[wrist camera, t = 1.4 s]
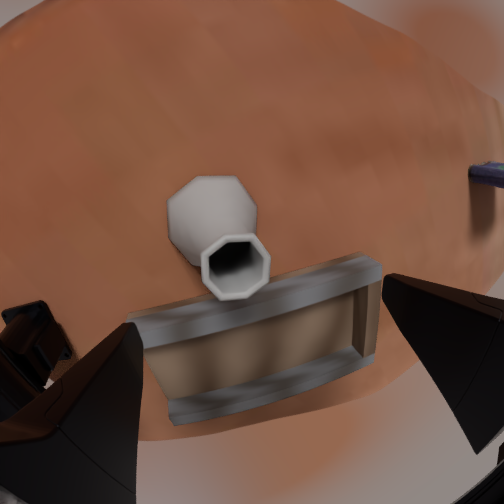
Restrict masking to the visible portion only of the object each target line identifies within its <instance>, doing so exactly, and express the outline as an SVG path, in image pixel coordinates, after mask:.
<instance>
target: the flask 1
mask: <svg viewBox="0 0 504 504" xmlns="http://www.w3.org/2000/svg"><path fill="white" fill-rule="evenodd" d="M167 221H168V238H169V239H170V240H171V241H172V243H173V244H174V245H175V246H176V247H177V248H178V250H179V251H180V252H181V253H182V254H183V255H184V256H185V258H186V259H187V260H188V261H189V262H190V263H191V264H192V265H194V266H200V267H201V276H202V282H203V283H204V284H205V286H206V287H207V288H208V289H209V290H210V291H211V292H212V293H213V294H214V295H215V296H216V297H217V299H218V300H219V301H230V300H242V299H248V298H249V297H251V296H252V295H253V294H255V293H256V292H257V291H259V290H260V289H261V288H263V287H264V286H265V285H267V284H268V283H269V280H270V262H271V256H270V254H269V253H268V252H267V250H266V249H265V248H264V246H263V245H262V244H261V242H260V241H259V240H258V238H257V237H256V223H257V205H256V203H255V202H254V200H253V199H252V198H251V196H250V195H249V193H248V192H247V191H246V189H245V188H244V186H243V185H242V184H241V182H240V181H239V179H238V178H237V177H236V176H197V177H195V178H194V179H193V180H192V181H190V182H189V183H188V184H186V185H185V186H184V187H183V188H181V189H180V190H179V191H178V192H176V193H175V194H174V195H173V196H171V197H170V198H169V199H168V200H167Z"/></svg>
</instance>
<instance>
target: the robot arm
mask: <svg viewBox="0 0 504 504" xmlns="http://www.w3.org/2000/svg"><path fill="white" fill-rule="evenodd" d="M382 300H383V302H384V304H385V305H386V307H387V309H388V310H389V312H390V314H391V316H392V317H393V319H394V321H395V323H396V325H397V326H398V328H399V330H400V331H401V333H402V334H403V336H404V337H405V338H406V340H407V341H408V343H409V344H410V346H411V347H412V349H413V350H414V352H415V353H416V355H417V356H418V358H419V359H420V361H421V362H422V364H423V365H424V367H425V368H426V370H427V371H428V373H429V374H430V376H431V377H432V379H433V381H434V382H435V384H436V385H437V387H438V388H439V390H440V392H441V393H442V395H443V397H444V398H445V400H446V402H447V403H448V405H449V407H450V408H451V410H452V412H453V413H454V416H455V417H456V419H457V421H458V422H459V424H460V426H461V428H462V430H463V431H464V433H465V435H466V437H467V439H468V440H469V443H470V445H471V446H472V448H473V450H474V452H475V453H476V454H479V453H480V452H481V451H482V450H483V449H484V448H486V447H487V446H488V445H489V444H490V443H491V442H492V441H493V440H494V439H496V438H497V437H498V436H499V435H500V434H501V433H502V432H503V431H504V300H502V299H498V298H493V297H488V296H485V295H480V294H476V293H473V292H468V291H465V290H461V289H457V288H453V287H449V286H445V285H441V284H437V283H433V282H429V281H425V280H421V279H417V278H412V277H408V276H404V275H400V274H396V273H392V274H388V275H386V276H385V277H384V279H383V287H382ZM40 305H42V307H41V306H40ZM1 315H2V318H3V320H4V321H5V323H6V325H7V326H6V327H5V328H4V329H3V331H2V332H1V333H0V504H136V466H137V465H136V464H137V444H138V431H139V418H140V408H141V398H142V389H143V350H144V346H143V341H142V338H141V336H140V333H139V331H138V328H137V326H136V324H135V323H134V322H127V323H123V324H121V325H120V326H119V327H118V328H117V329H115V330H114V331H113V332H112V333H111V334H109V335H108V336H107V337H106V338H105V339H104V340H102V341H101V342H100V343H99V344H98V345H97V346H95V347H94V348H93V349H92V350H91V351H90V352H88V353H87V354H86V355H85V356H84V357H83V358H82V359H80V360H79V361H78V362H77V363H76V364H75V365H74V366H72V367H71V368H70V369H69V370H68V371H67V372H66V373H65V374H63V375H62V376H61V378H59V379H58V380H57V381H55V382H54V383H53V384H52V385H51V386H50V387H49V388H47V389H45V388H44V387H43V386H45V385H46V383H47V380H48V378H49V376H50V374H51V371H53V370H54V368H55V366H56V364H57V362H58V360H66V359H70V358H71V356H72V352H71V351H70V349H69V347H68V345H67V344H66V342H65V340H64V338H63V336H62V334H61V333H60V331H59V329H58V327H57V325H56V323H55V321H54V320H53V318H52V316H51V314H50V311H49V309H48V307H47V305H46V303H45V302H44V301H42V300H39V301H35V302H32V303H28V304H24V305H20V306H16V307H13V308H9V309H5V310H3V311H2V313H1ZM66 353H67V354H66ZM452 504H504V442H503V443H502V445H501V446H500V447H499V454H498V461H497V466H496V467H495V468H494V469H493V470H492V471H491V472H490V473H489V474H488V475H486V476H485V477H484V478H483V479H482V480H481V481H480V482H478V483H477V484H476V485H475V486H474V487H472V488H471V489H470V490H469V491H467V492H466V493H465V494H464V495H462V496H461V497H460V498H458V499H457V500H456V501H454V502H453V503H452Z"/></svg>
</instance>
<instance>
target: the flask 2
mask: <svg viewBox="0 0 504 504" xmlns="http://www.w3.org/2000/svg"><path fill="white" fill-rule="evenodd" d="M468 177H469V180H470V181H471V182H473V183H482V184H487V185H491V186H495V187H499V188H503V189H504V163H499V162H495V161H489V162H488V163H485V162H483V163H482V164H481V165H479V163H478V165H474V164H473V165H471V166H470V167H469V169H468Z"/></svg>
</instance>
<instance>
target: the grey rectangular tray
mask: <svg viewBox="0 0 504 504" xmlns="http://www.w3.org/2000/svg"><path fill="white" fill-rule="evenodd" d="M381 281H382V264H380V263H379V262H377V261H375V260H374V259H372V258H370V257H369V256H367V255H365V254H363V253H362V252H358V253H354V254H351V255H348V256H344V257H341V258H338V259H334V260H331V261H327V262H324V263H320V264H317V265H314V266H310V267H307V268H303V269H300V270H296V271H292V272H289V273H285V274H282V275H278V276H274V277H271V278H270V280H269V283H268V284H267V285H265V286H264V287H263V288H261V289H260V290H259V291H257V292H256V293H255V294H253V295H252V296H251V297H249V298H248V299H242V300H230V301H219V300H218V299H217V297H216V296H215V295H214V294H213V293H210V294H206V295H202V296H198V297H194V298H190V299H186V300H182V301H178V302H174V303H170V304H166V305H162V306H158V307H153V308H149V309H145V310H141V311H136V312H132V313H128V316H127V320H126V323H127V322H134V323H135V324H136V326H137V328H138V331H139V333H140V336H141V338H142V341H143V346H144V350H143V355H144V357H145V359H146V361H147V363H148V365H149V367H150V369H151V371H152V372H153V374H154V376H155V378H156V380H157V381H158V383H159V385H160V387H161V389H162V390H163V392H164V394H165V395H166V397H167V399H168V409H169V419H170V420H171V422H172V423H173V425H174V426H177V425H182V424H188V423H193V422H198V421H203V420H208V419H213V418H217V417H221V416H226V415H230V414H234V413H238V412H241V411H245V410H249V409H252V408H256V407H259V406H263V405H266V404H269V403H273V402H276V401H279V400H282V399H285V398H288V397H291V396H294V395H297V394H300V393H302V392H305V391H308V390H310V389H313V388H316V387H318V386H321V385H323V384H326V383H328V382H331V381H333V380H336V379H338V378H341V377H343V376H345V375H348V374H350V373H352V372H354V371H356V370H359V369H361V368H363V367H365V366H367V365H369V364H371V363H373V362H374V355H375V348H376V340H377V331H378V322H379V311H380V298H381Z"/></svg>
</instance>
